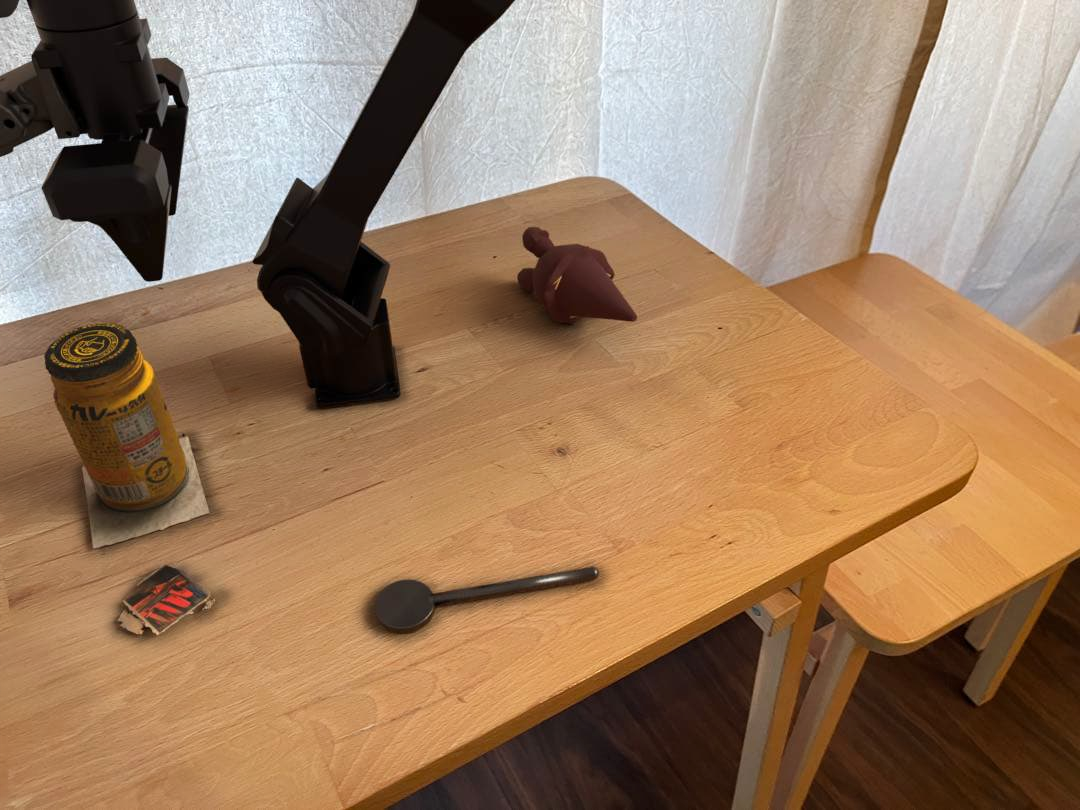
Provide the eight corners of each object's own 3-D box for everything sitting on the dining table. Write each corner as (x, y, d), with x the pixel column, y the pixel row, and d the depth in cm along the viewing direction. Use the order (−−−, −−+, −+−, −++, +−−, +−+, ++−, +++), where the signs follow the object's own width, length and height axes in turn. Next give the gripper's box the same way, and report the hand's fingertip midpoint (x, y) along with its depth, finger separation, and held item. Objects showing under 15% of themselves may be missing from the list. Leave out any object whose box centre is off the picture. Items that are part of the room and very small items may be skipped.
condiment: (188, 438, 65) (139, 302, 57) (210, 514, 59) (159, 375, 51) (82, 469, 63) (17, 332, 55) (94, 552, 57) (23, 412, 49)
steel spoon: (591, 554, 57) (592, 546, 56) (606, 599, 54) (606, 591, 53) (373, 590, 54) (372, 582, 54) (377, 639, 52) (376, 630, 51)
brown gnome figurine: (677, 272, 70) (560, 214, 80) (609, 281, 66) (494, 219, 76) (659, 350, 73) (549, 286, 83) (592, 364, 69) (485, 294, 79)
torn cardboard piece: (160, 563, 56) (158, 559, 56) (225, 591, 54) (223, 586, 54) (105, 620, 53) (103, 615, 52) (172, 650, 51) (170, 646, 51)
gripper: (-18, -18, 58) (66, 197, 68) (-115, 85, 44) (9, 336, 55) (158, -29, 60) (214, 182, 70) (118, 67, 46) (196, 313, 56)
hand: (161, 245), depth 63 cm, fingers open, 9 cm apart
